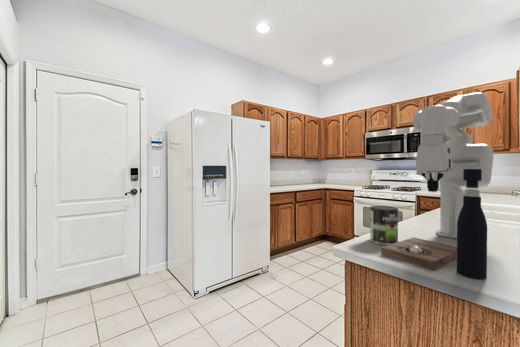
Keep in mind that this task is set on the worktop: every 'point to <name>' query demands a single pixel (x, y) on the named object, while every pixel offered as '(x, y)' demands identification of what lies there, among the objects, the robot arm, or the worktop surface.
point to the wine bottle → (472, 230)
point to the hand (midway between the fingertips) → (432, 191)
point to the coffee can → (384, 225)
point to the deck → (430, 257)
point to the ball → (415, 249)
